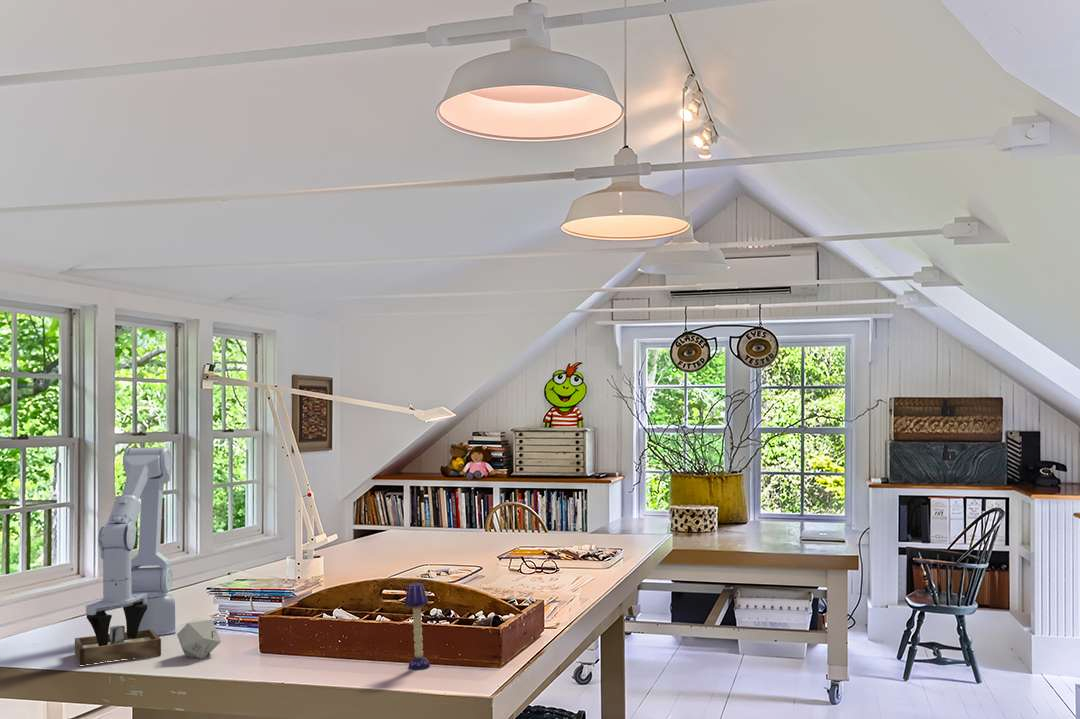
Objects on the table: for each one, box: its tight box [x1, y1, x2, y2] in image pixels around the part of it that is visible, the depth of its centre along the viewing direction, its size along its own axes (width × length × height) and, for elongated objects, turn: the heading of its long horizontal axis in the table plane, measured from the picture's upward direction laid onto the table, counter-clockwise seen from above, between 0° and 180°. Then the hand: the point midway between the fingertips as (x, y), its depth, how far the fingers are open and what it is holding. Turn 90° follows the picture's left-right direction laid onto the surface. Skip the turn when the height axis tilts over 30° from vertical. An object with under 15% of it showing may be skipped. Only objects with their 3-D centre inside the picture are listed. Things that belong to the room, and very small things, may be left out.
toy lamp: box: [404, 582, 431, 670], centre depth 206 cm, size 5×5×17 cm
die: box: [176, 617, 222, 659], centre depth 218 cm, size 8×9×10 cm
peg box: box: [74, 629, 162, 666], centre depth 220 cm, size 16×12×4 cm
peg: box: [109, 625, 126, 645], centre depth 221 cm, size 3×3×6 cm
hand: (117, 642), depth 220 cm, fingers open, 7 cm apart
